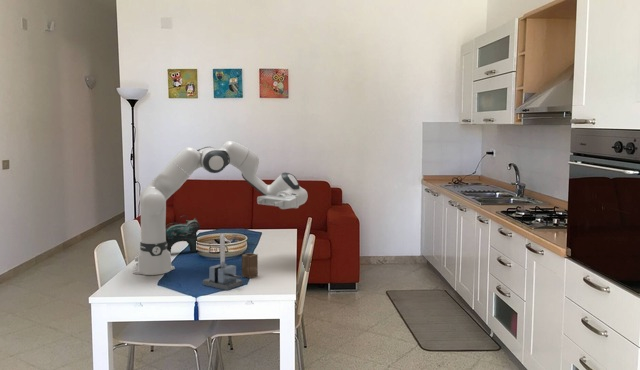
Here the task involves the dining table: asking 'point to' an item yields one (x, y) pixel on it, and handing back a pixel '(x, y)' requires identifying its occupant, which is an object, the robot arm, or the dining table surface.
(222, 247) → the vise
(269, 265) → the dining table surface
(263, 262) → the dining table surface
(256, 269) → the walnut sleeve
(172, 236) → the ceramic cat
